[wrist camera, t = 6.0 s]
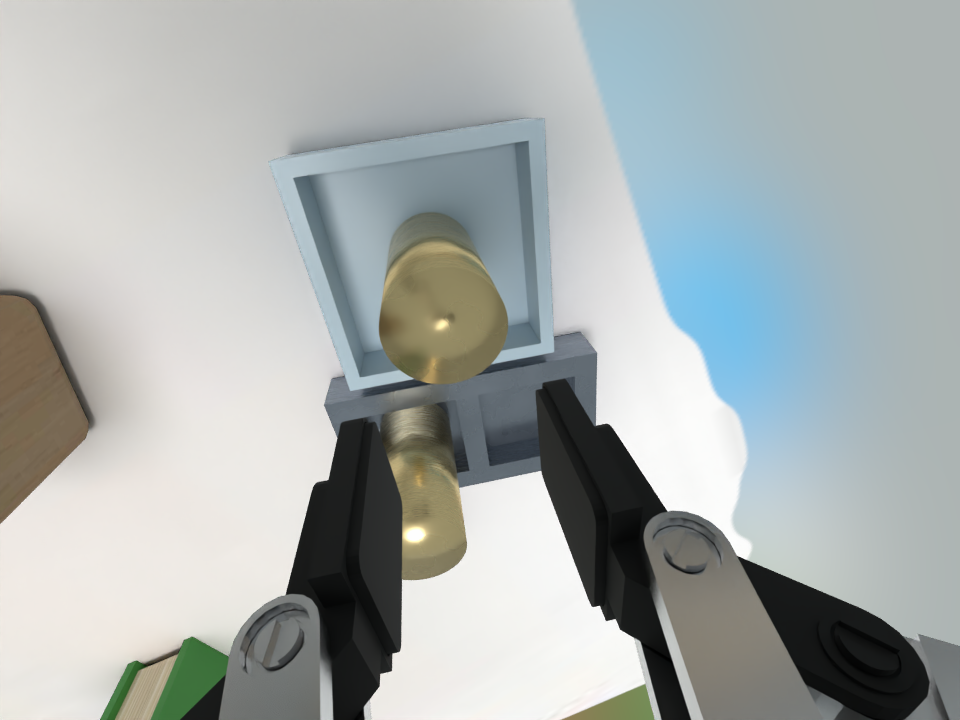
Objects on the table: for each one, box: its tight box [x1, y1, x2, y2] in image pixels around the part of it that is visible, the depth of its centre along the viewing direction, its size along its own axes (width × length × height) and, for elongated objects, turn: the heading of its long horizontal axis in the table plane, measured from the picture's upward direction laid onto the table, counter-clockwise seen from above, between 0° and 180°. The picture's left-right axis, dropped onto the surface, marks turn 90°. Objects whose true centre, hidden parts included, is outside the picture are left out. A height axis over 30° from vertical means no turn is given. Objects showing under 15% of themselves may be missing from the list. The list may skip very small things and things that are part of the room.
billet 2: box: [380, 404, 467, 580], centre depth 26 cm, size 5×5×10 cm
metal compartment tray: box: [324, 332, 597, 488], centre depth 30 cm, size 18×10×3 cm, turn 97°
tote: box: [268, 118, 554, 391], centre depth 24 cm, size 13×13×4 cm
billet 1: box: [379, 212, 508, 384], centre depth 20 cm, size 5×5×10 cm
